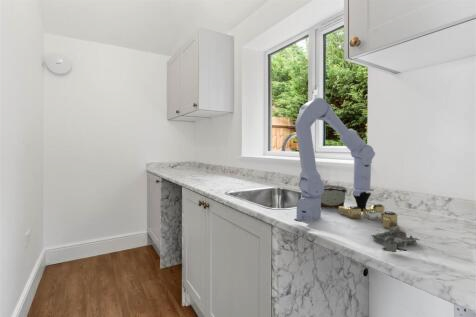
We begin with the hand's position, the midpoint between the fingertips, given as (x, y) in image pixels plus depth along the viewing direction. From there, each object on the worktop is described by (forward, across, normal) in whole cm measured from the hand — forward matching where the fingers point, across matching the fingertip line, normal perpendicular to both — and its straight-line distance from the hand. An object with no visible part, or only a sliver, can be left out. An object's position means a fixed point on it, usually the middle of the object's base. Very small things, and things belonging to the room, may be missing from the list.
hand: (361, 211), depth 96 cm
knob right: (+1, -8, -10) cm, 13 cm away
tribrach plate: (+2, -3, -5) cm, 6 cm away
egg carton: (+3, -23, -14) cm, 27 cm away
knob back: (+1, +2, -4) cm, 4 cm away
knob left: (+1, -6, +3) cm, 6 cm away
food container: (+3, +5, +14) cm, 15 cm away
